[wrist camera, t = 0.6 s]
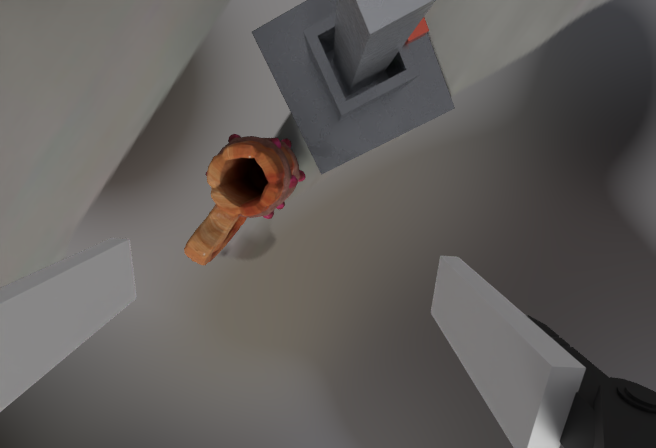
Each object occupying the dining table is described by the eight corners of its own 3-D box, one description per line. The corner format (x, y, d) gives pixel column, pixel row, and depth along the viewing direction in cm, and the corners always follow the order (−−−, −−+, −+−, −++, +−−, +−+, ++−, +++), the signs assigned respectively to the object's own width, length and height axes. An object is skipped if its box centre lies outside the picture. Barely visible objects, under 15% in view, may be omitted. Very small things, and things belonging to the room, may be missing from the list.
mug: (265, 120, 38) (226, 103, 24) (318, 160, 39) (312, 167, 25) (205, 212, 41) (137, 248, 26) (256, 246, 42) (217, 298, 28)
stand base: (253, 34, 36) (229, -2, 27) (394, -45, 34) (417, -113, 25) (321, 173, 40) (319, 180, 31) (451, 109, 38) (488, 97, 29)
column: (333, 62, 35) (338, -43, 16) (369, 42, 35) (420, -90, 15) (347, 95, 36) (370, 34, 17) (383, 76, 36) (448, -8, 16)
